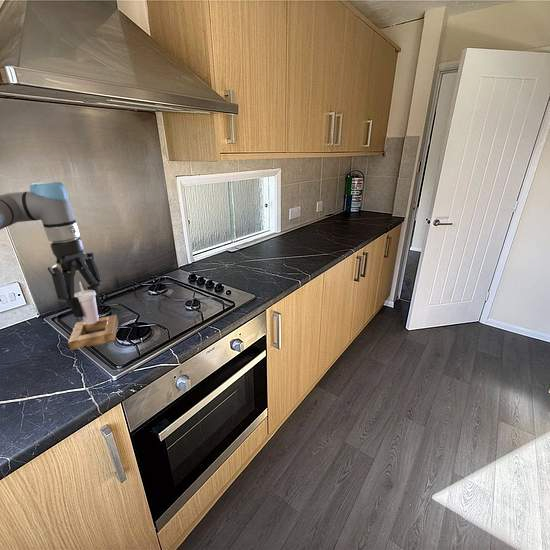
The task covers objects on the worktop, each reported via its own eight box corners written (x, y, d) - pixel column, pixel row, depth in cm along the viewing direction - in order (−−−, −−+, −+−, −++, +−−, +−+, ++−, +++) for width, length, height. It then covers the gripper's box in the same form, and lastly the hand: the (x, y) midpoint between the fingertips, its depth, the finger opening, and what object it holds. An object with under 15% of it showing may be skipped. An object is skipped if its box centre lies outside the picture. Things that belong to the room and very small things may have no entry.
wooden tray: (70, 350, 88) (67, 342, 87) (79, 330, 98) (76, 322, 97) (114, 340, 92) (112, 332, 91) (118, 322, 102) (116, 314, 101)
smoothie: (82, 329, 89) (67, 287, 83) (79, 320, 94) (65, 280, 88) (105, 321, 93) (93, 281, 87) (101, 313, 97) (89, 275, 92)
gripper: (43, 250, 73) (72, 328, 82) (102, 230, 90) (120, 297, 99) (20, 249, 75) (50, 326, 84) (82, 230, 92) (101, 295, 101)
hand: (88, 310), depth 92 cm, fingers closed on smoothie, 6 cm apart
